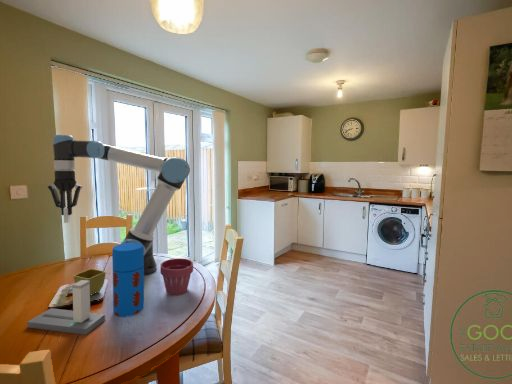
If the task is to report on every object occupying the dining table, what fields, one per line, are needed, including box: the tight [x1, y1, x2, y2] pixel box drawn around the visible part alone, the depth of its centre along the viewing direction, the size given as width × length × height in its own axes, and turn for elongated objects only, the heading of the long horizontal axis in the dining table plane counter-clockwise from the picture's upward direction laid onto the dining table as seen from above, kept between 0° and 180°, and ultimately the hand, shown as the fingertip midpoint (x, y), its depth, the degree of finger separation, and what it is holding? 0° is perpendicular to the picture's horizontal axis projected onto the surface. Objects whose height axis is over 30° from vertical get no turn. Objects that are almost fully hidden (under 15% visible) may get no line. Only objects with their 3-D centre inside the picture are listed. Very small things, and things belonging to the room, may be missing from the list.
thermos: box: [111, 243, 145, 318], centre depth 103 cm, size 11×11×25 cm
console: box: [26, 307, 106, 336], centre depth 94 cm, size 22×9×2 cm, turn 82°
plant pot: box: [159, 257, 194, 296], centre depth 120 cm, size 14×14×13 cm
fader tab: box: [71, 280, 91, 323], centre depth 92 cm, size 3×4×13 cm
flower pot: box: [73, 268, 107, 296], centre depth 116 cm, size 9×9×9 cm
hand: (67, 222), depth 122 cm, fingers closed
